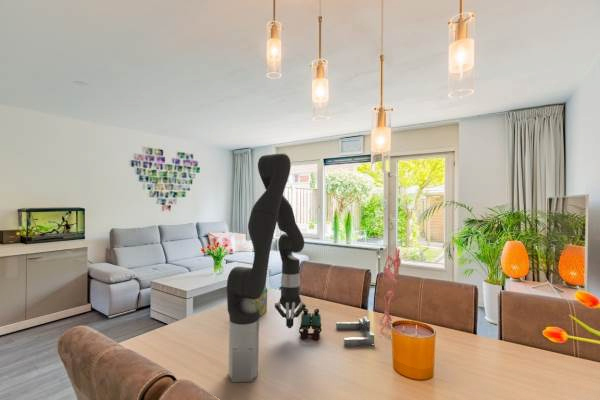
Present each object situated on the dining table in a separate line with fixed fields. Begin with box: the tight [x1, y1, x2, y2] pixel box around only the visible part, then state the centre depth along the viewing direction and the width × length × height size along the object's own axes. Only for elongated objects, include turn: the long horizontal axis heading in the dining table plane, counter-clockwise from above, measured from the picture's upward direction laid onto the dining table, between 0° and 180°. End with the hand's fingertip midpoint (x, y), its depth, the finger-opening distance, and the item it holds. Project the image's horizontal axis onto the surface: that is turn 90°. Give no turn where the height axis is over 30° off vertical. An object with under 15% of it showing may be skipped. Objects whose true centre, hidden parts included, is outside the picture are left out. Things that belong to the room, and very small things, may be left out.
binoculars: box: [298, 307, 323, 341], centre depth 120 cm, size 9×11×10 cm
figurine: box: [379, 247, 402, 338], centre depth 129 cm, size 15×26×35 cm, turn 167°
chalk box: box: [248, 287, 268, 318], centre depth 144 cm, size 9×9×15 cm
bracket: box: [335, 315, 375, 347], centre depth 121 cm, size 16×12×7 cm
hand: (289, 327), depth 119 cm, fingers closed
